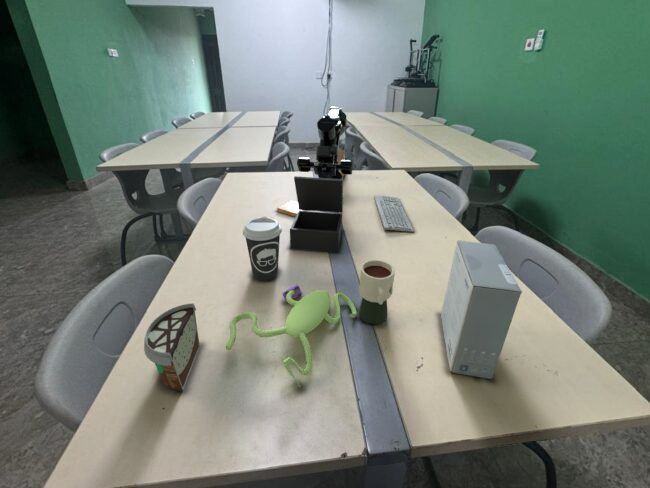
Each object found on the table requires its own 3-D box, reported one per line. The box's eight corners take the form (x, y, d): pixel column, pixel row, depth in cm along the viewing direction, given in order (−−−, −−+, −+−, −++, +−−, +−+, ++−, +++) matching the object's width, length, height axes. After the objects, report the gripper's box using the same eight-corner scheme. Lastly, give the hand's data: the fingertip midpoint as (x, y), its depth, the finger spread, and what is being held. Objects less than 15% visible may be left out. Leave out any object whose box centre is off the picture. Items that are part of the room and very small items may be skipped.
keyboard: (414, 232, 108) (414, 227, 108) (384, 231, 108) (384, 226, 107) (397, 199, 135) (398, 195, 134) (373, 198, 135) (374, 194, 134)
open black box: (338, 252, 95) (338, 232, 92) (290, 248, 96) (289, 229, 93) (341, 231, 107) (342, 213, 105) (299, 228, 108) (299, 210, 106)
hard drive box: (493, 381, 57) (523, 293, 49) (449, 373, 58) (472, 286, 50) (474, 319, 71) (495, 243, 63) (439, 314, 72) (455, 238, 64)
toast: (291, 203, 127) (291, 200, 127) (310, 208, 123) (310, 205, 123) (277, 211, 120) (277, 207, 120) (296, 217, 116) (296, 213, 116)
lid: (342, 181, 93) (342, 179, 94) (293, 178, 94) (294, 176, 95) (342, 212, 104) (342, 211, 105) (298, 209, 105) (299, 208, 106)
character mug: (394, 334, 66) (401, 284, 61) (360, 336, 66) (365, 285, 61) (383, 299, 76) (388, 254, 71) (354, 300, 76) (357, 254, 70)
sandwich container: (346, 170, 169) (347, 143, 163) (342, 180, 155) (344, 150, 149) (330, 169, 170) (331, 141, 164) (325, 178, 156) (326, 148, 150)
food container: (170, 341, 63) (160, 302, 59) (202, 340, 64) (194, 301, 59) (140, 401, 52) (126, 358, 48) (179, 399, 52) (168, 356, 48)
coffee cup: (289, 267, 87) (288, 219, 81) (272, 288, 79) (269, 236, 73) (259, 260, 90) (255, 212, 84) (239, 279, 82) (233, 228, 75)
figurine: (215, 352, 61) (211, 331, 59) (300, 281, 82) (300, 263, 79) (289, 404, 52) (288, 381, 50) (364, 309, 73) (365, 290, 71)
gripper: (297, 133, 104) (290, 175, 99) (353, 136, 103) (350, 179, 98) (302, 151, 115) (296, 190, 109) (353, 154, 113) (350, 194, 108)
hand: (322, 188), depth 106 cm, fingers closed
